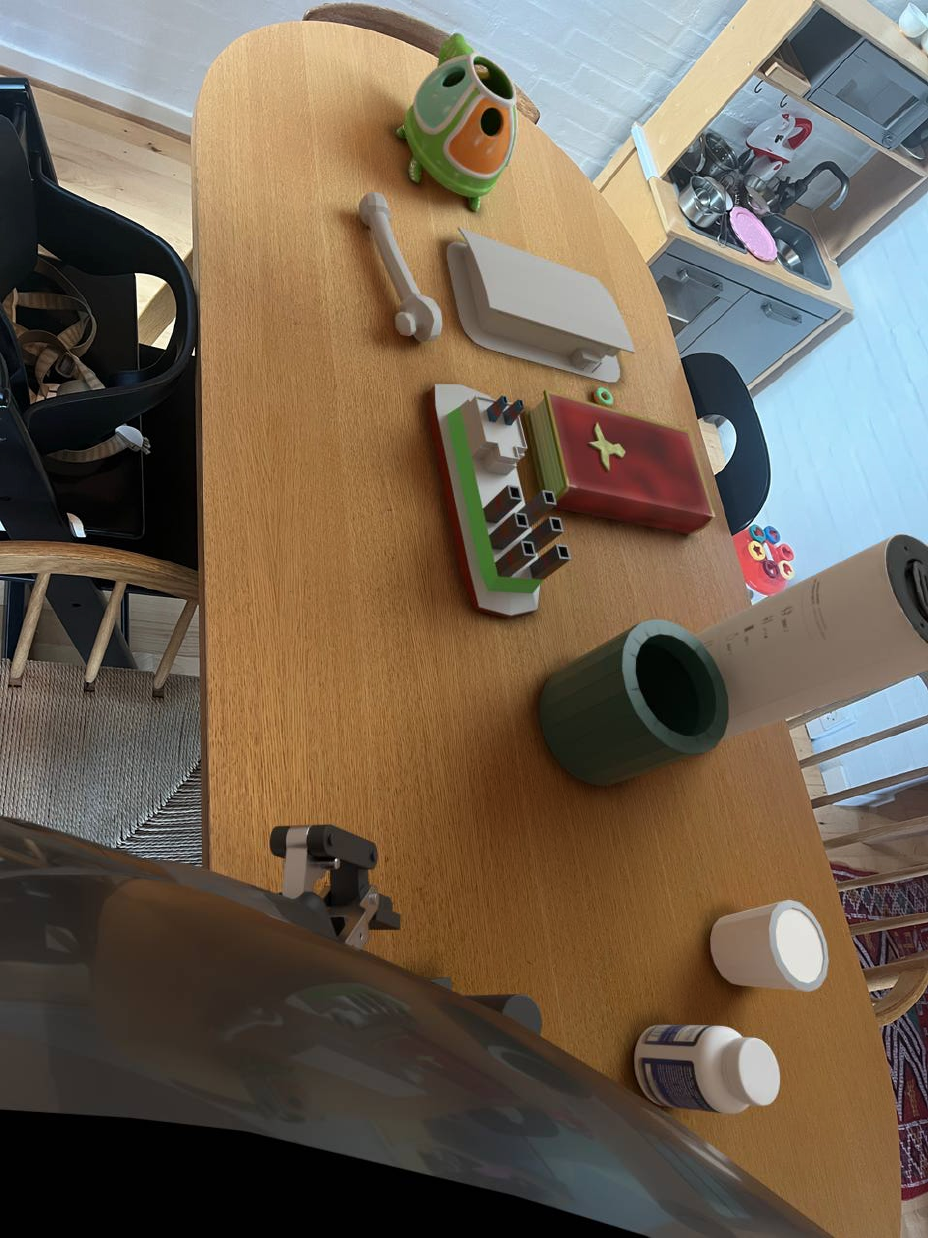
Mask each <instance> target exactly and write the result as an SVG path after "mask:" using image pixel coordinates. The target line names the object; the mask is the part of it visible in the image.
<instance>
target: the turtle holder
mask: <svg viewBox="0 0 928 1238" xmlns="http://www.w3.org/2000/svg"><path fill="white" fill-rule="evenodd" d="M439 49H440V50H439V53H438V61H437V67H436V68H434V69H433V70H432V71H430V73H429V74H428V75H427V76H426V77H425V78H424V80H423V81H422V82H421V84H420V85H419V87H418V88H417V90H416V92H415V95H414V98H413V102H412V104H411V105H410V106H409V108H408V109H407V112H406V113H405V117H404V124H403V125H404V129H405V130H404V129H403V125H402V126H399V128H398V129H396V135H397V137H398V138H399V139H405V140H406V142H407V144H408V146H409V149H410V150H411V152H412V153H413V155H412V157H411V159H410V161H409V165H408V170H407V172H408V176H409V178H410V179H411V181H413V182H415V183H419V182H420V180H421V178H422V172H421V171H423V169H425V171H426V172H427V173H428V174H429V175H430V177H432V178H433V179H434V180H435V181H437V182H438V183H439V184H441V185H442V186H443V187H444V188H446V189H448V190H449V191H452V192H453V193H456V194H459V195H461V196H464V197H468V206H469V208H470V210H472V211H474V212H478V211H479V209H480V205H481V201H482V197H484V196H485V195H487V194H489V193H490V192H491V191H492V190H493V189H494V187H495V186H496V185H497V182H498V179H499V178H500V176H501V175H502V174H503V172H504V170H505V169H506V168H508V166H509V165H510V163H511V160H512V158H513V154H514V152H515V147H516V143H517V139H518V138H517V137H518V129H519V123H518V122H519V121H518V120H519V119H518V110H517V109H518V108H517V97H518V96H517V91H516V87H515V84H514V82H513V79H512V78H511V77H510V75H509V73H508V72H507V70H506V69H505V68H504V67H503V66H502V65H501V64H499V63H498V62H497V61H495V60H493V59H492V58H490V56H487V55H485V54H483V53H481V52H478V51H474V49H473V47H472V46H470V45H468V44H467V41H466V39H465V36H463V34H461V33H460V32H455V33H453V34H452V35H451V36H450V37H449V39H448V40H444V41H442V43H441V46H440V48H439ZM475 66H482V67H484V68H485V69H486V70H487V71H479V70H475ZM411 163H412V166H413V169H412V166H411ZM420 173H421V174H420Z"/></svg>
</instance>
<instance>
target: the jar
mask: <svg viewBox="0 0 928 1238" xmlns="http://www.w3.org/2000/svg"><path fill="white" fill-rule="evenodd" d="M694 635H695V634H692V633H691V632H690V631H689V630H688V629H686V628H685V627H683V626H682V625H679V624H677V623H675V622H673V621H671V620H667V619H659V618H650V619H647V620H644V621H641V622H638V623H637V624H635V625H633V626H631V627H629V628H628V629H626V630H624V631H623V632H620V633H619V634H618V635H616V636H614V637H612V638H611V639H609V640H606V641H605V642H604V643H602V644H600V645H598V646H597V647H595V648H593V649H591V650H590V651H588V652H586V653H585V654H583V655H581V656H579V657H577V658H576V659H574V660H572V661H571V662H569V663H567V664H565V665H564V666H563V667H561V668H559V669H558V670H557V671H555V672H554V673H553V674H551V676H550V677H549V678H548V680H547V681H546V683H545V685H544V686H543V689H542V690H541V691H542V692H541V695H540V700H539V720H540V726H541V731H542V734H543V738H544V739H545V742H546V744H547V746H548V748H549V750H550V752H551V754H552V755H553V757H554V758H555V759H556V761H557V762H558V763H559V764H560V766H561V767H563V769H564V770H566V772H568V773H569V774H570V775H572V776H573V777H574V778H576V779H577V780H580V781H582V782H584V783H585V784H589V785H592V786H598V787H605V786H612V785H615V784H620V783H622V782H625V781H629V780H631V779H634V778H637V777H640V776H642V775H646V774H648V773H651V772H654V771H657V770H660V769H662V768H666V767H668V766H671V765H674V764H677V763H680V762H682V761H686V760H689V759H692V758H694V757H698V756H699V755H703V754H705V753H707V752H709V751H711V750H714V749H715V748H716V747H717V746H718V745H719V743H721V741H720V740H721V739H722V738H723V736H724V734H725V731H726V727H727V724H728V720H729V704H728V694H727V691H726V687H725V683H724V679H723V677H722V675H721V673H720V671H719V669H718V667H717V665H716V663H715V661H714V659H713V657H712V656H711V655H710V653H709V652H708V651H707V649H706V648H705V647H704V645H703V644H702V643H701V642H700V641H699V640H698V639H697V638H696V637H695V636H694Z"/></svg>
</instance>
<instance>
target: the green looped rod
mask: <svg viewBox="0 0 928 1238" xmlns="http://www.w3.org/2000/svg"><path fill="white" fill-rule="evenodd" d="M593 399H594V401H595V402H596V404H598V405H601V406H605V407H608V408H610V407H611V406H612V405H613V402H614V397H613V395H612V393H610V391H609V390H608V389H606V388H605V387H601V386H600V387H598V388H596V390H595V391H594V392H593Z"/></svg>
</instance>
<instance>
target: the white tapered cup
mask: <svg viewBox="0 0 928 1238" xmlns="http://www.w3.org/2000/svg"><path fill="white" fill-rule="evenodd" d="M709 942H710V953H711V956H712V960H713V963H714V965H715V967H716V969H717V970H718V972H719V973H720V975H721V977H723V978H724V979H725V980H726V981H728V983H730V984H732V985H737V986H743V987H752V988H753V987H754V988H763V989H775V990H785V991H794V992H795V991H796V992H805V993H806V992H807V993H810V992H813V991H815V990H817V989H819V988H821V987H822V984H823V983H824V981H825V980H826V978H827V974H828V967H829V963H830V960H829V950H828V943H827V940H826V937H825V934H824V932H823V928H822V927H821V925H820V923H819V921H818V919H817V918H816V917H815V915H814V914H813V912H812V911H811V910H810V909H809V908H808V907H806V906H805V905H804V904H803V903H802V902H800V901H795V900H791V899H787V900H782V901H777V902H775V903H770V904H766V905H762V906H759V907H755V908H750V909H746V910H743V911H739V912H735V913H731V914H727V915H724V916H721V917H719V918H718V919H717V920H716V921H715V923H714V924H713V925H712V929H711V932H710V936H709Z"/></svg>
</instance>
